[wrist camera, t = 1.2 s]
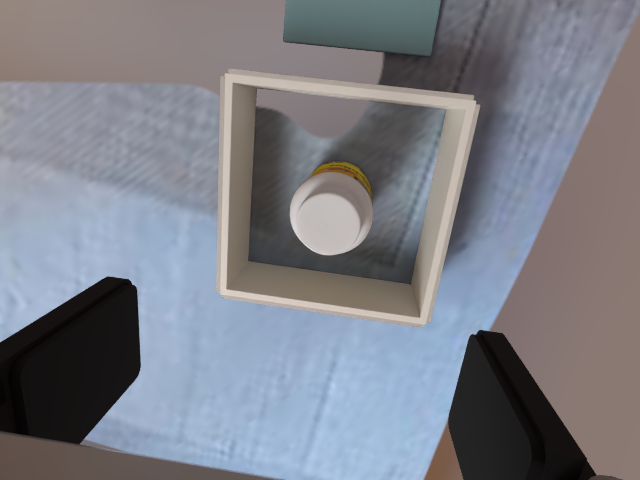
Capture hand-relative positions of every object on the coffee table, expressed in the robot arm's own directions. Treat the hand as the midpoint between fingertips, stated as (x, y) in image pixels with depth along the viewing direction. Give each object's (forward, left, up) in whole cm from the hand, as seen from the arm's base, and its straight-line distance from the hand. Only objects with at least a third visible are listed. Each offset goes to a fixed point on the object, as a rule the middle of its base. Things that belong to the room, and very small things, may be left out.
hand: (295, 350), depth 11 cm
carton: (0, 0, -23) cm, 23 cm away
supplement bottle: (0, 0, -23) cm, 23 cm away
